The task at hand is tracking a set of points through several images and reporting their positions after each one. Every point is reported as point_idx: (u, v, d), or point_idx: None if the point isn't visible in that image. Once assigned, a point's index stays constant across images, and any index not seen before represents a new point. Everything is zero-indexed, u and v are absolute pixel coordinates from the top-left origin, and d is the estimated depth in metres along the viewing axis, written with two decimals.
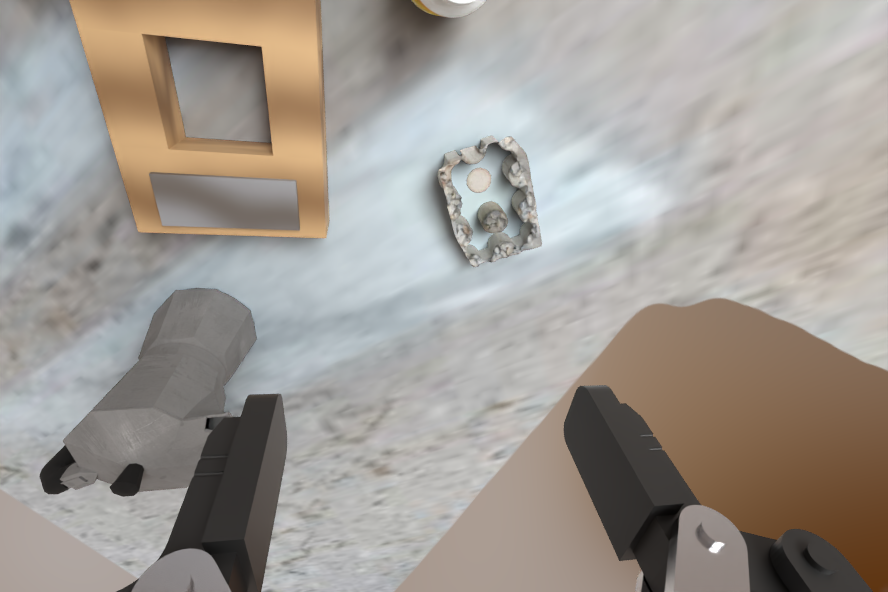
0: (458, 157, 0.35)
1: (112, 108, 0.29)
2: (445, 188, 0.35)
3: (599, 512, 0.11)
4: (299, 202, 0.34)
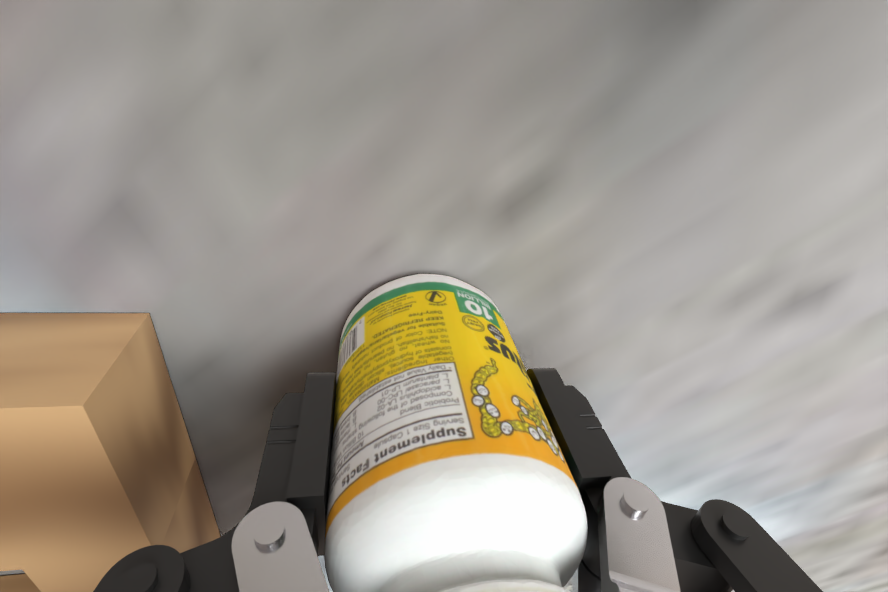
0: None
1: None
2: None
3: None
4: None
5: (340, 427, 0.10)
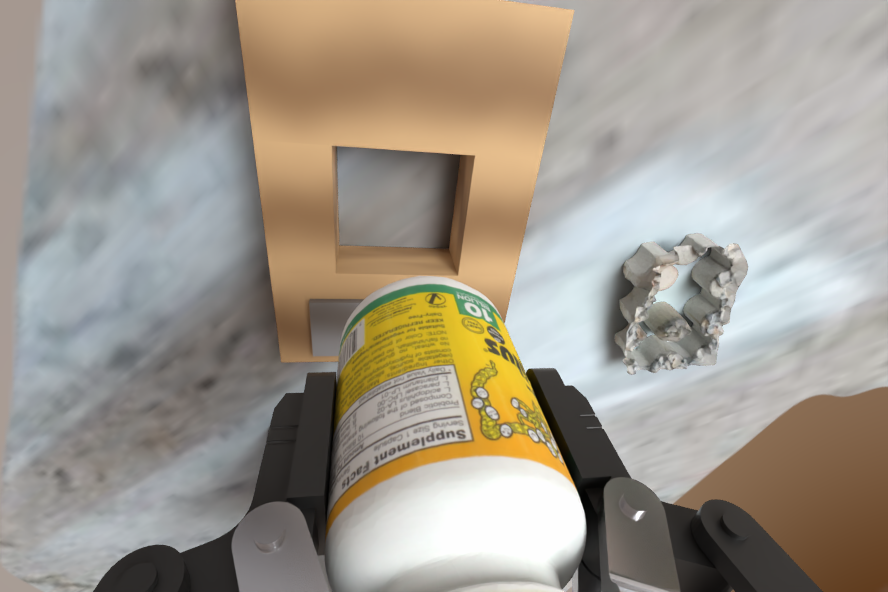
0: (672, 256, 0.28)
1: (277, 231, 0.22)
2: (651, 290, 0.28)
3: None
4: None
5: (340, 429, 0.10)
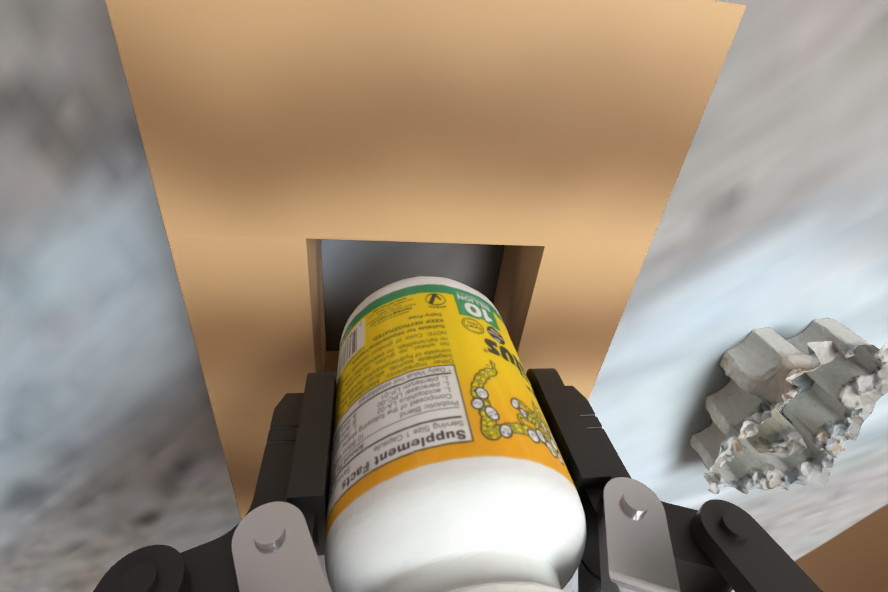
0: (807, 357, 0.20)
1: (222, 363, 0.14)
2: (777, 406, 0.20)
3: None
4: None
5: (340, 429, 0.10)
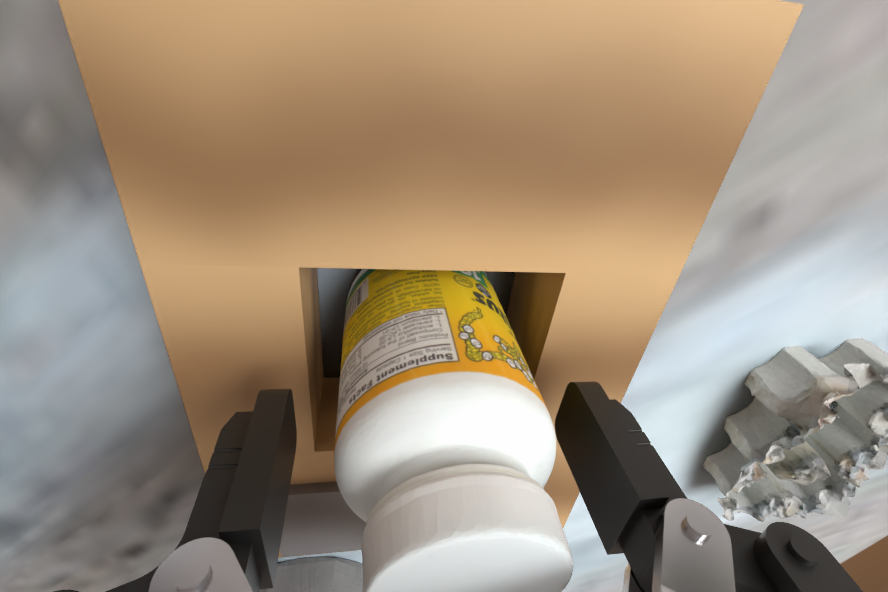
0: (844, 380, 0.19)
1: (207, 402, 0.13)
2: (811, 431, 0.18)
3: (588, 507, 0.11)
4: None
5: (347, 363, 0.11)
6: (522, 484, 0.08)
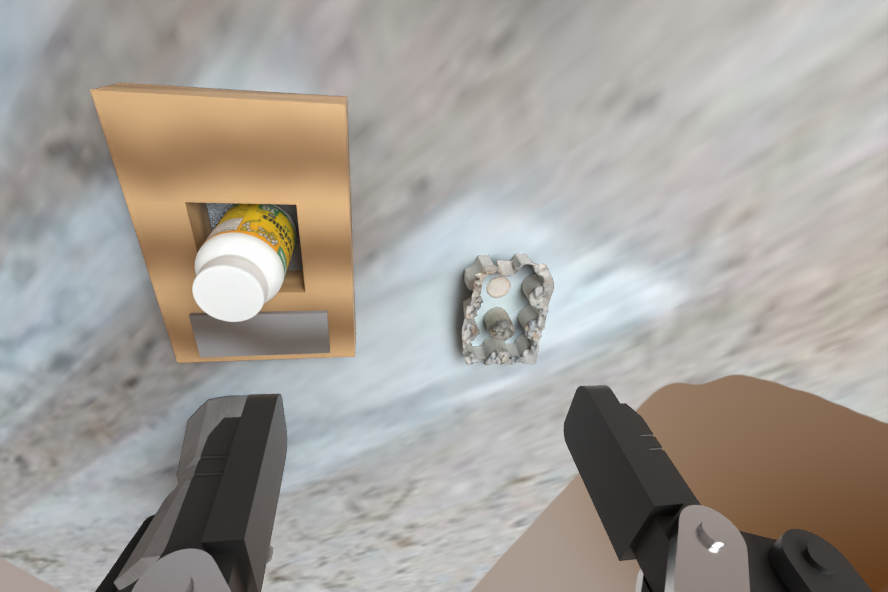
0: (494, 267, 0.36)
1: (156, 263, 0.30)
2: (474, 292, 0.36)
3: (599, 513, 0.11)
4: (329, 328, 0.35)
5: None
6: (243, 261, 0.26)
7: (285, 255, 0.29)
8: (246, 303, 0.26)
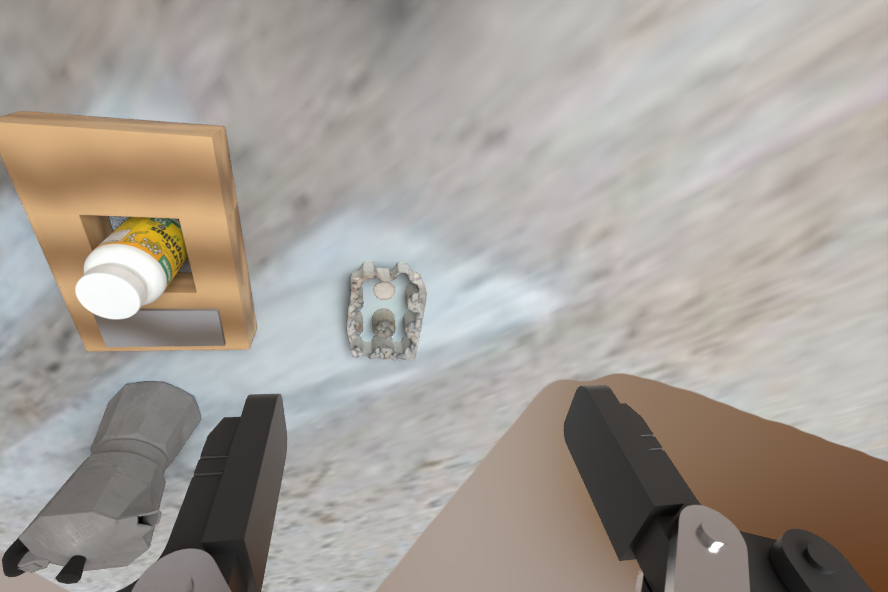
0: (372, 273, 0.41)
1: (58, 265, 0.35)
2: (352, 293, 0.40)
3: (599, 513, 0.11)
4: (223, 324, 0.40)
5: None
6: (121, 269, 0.31)
7: (169, 262, 0.34)
8: (124, 304, 0.31)
